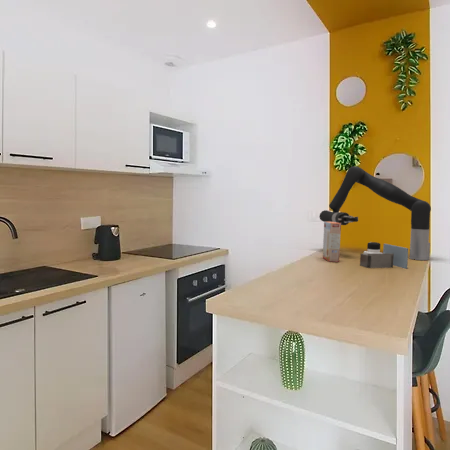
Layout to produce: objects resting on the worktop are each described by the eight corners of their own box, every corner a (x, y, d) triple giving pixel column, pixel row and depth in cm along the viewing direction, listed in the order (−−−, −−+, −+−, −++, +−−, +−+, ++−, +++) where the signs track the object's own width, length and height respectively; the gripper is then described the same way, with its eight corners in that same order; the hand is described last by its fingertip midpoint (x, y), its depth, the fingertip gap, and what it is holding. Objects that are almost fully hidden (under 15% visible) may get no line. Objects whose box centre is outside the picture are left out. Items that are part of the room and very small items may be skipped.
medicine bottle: (383, 267, 188) (384, 243, 187) (369, 267, 187) (370, 243, 186) (376, 264, 195) (377, 241, 194) (362, 264, 194) (363, 241, 193)
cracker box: (339, 262, 200) (341, 222, 199) (328, 262, 200) (330, 222, 199) (333, 258, 214) (334, 221, 213) (322, 257, 214) (323, 221, 213)
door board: (384, 262, 203) (385, 243, 202) (407, 268, 185) (408, 248, 184) (382, 262, 202) (383, 243, 202) (405, 268, 185) (406, 248, 184)
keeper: (383, 264, 195) (384, 251, 194) (392, 267, 187) (393, 253, 187) (359, 265, 192) (360, 251, 192) (368, 268, 185) (369, 253, 184)
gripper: (330, 212, 223) (345, 213, 206) (351, 212, 226) (367, 212, 209) (330, 225, 224) (345, 226, 207) (350, 224, 226) (367, 226, 210)
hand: (356, 219), depth 208 cm, fingers closed
